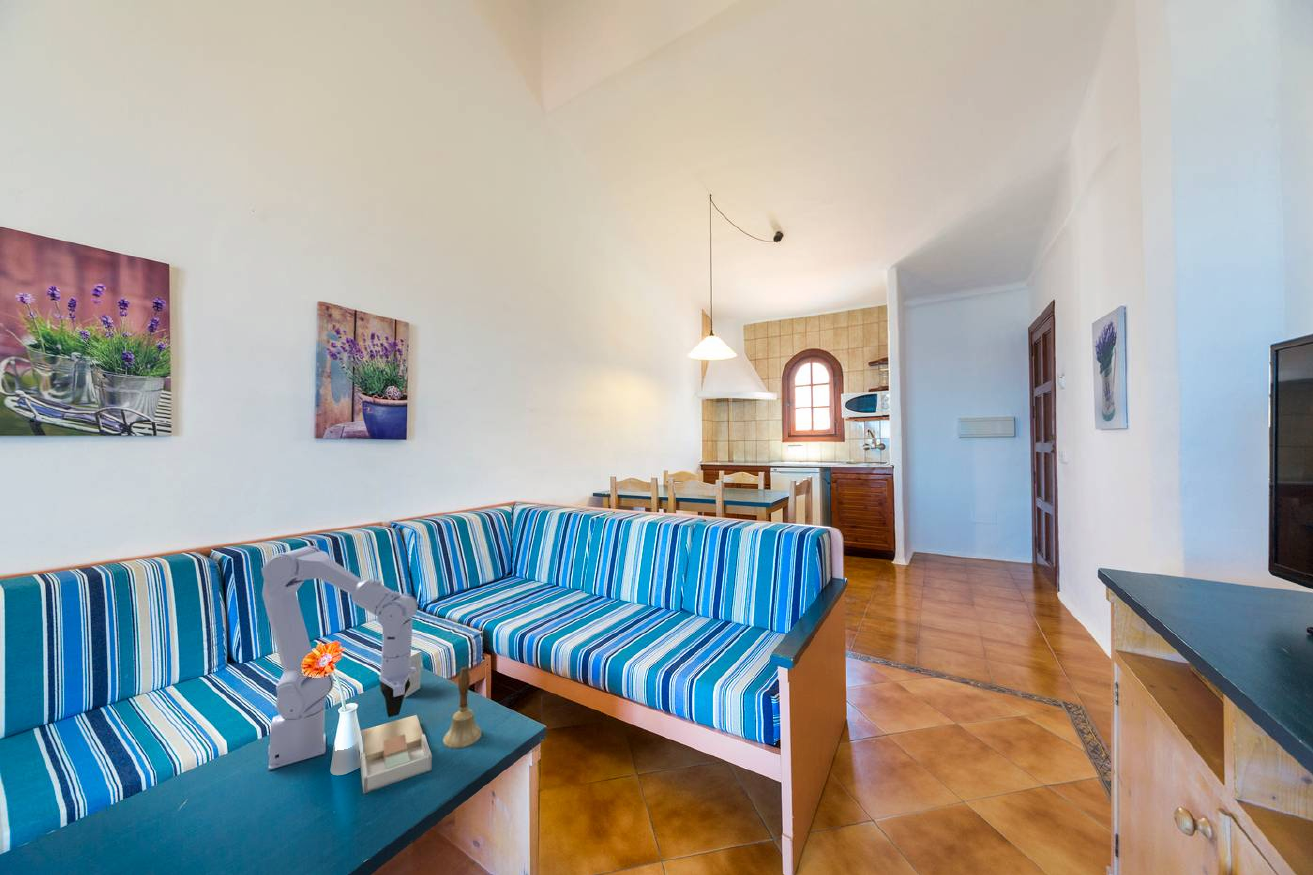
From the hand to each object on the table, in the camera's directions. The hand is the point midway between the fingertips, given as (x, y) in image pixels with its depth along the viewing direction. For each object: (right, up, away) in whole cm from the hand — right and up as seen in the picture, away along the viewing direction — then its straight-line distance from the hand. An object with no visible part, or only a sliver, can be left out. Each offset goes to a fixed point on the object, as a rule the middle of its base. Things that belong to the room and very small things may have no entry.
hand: (393, 714), depth 101 cm
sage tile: (+5, -7, -7) cm, 11 cm away
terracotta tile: (+3, -6, -4) cm, 8 cm away
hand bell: (+13, -9, +5) cm, 17 cm away
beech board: (-2, -8, +2) cm, 8 cm away
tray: (+4, -8, -6) cm, 10 cm away
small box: (-12, -9, +25) cm, 29 cm away
